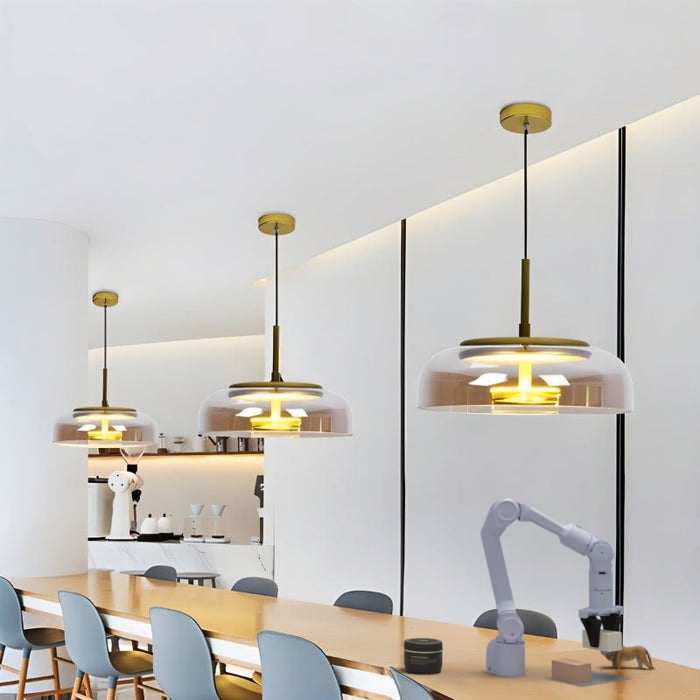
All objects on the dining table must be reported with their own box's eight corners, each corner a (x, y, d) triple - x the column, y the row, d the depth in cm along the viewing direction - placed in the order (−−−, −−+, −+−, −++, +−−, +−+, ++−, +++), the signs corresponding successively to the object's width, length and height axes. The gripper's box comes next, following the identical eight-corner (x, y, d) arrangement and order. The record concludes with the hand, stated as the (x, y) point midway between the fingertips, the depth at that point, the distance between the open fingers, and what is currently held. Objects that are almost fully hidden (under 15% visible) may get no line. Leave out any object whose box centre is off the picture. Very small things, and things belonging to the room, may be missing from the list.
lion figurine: (603, 674, 253) (602, 637, 254) (596, 670, 258) (596, 634, 259) (659, 674, 253) (659, 638, 255) (652, 670, 259) (651, 634, 260)
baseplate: (543, 682, 241) (543, 678, 241) (592, 674, 252) (592, 670, 252) (581, 691, 232) (581, 686, 232) (631, 682, 242) (631, 678, 242)
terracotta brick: (551, 678, 242) (551, 660, 242) (565, 675, 245) (565, 658, 245) (577, 683, 235) (577, 665, 236) (591, 681, 238) (591, 663, 239)
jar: (408, 666, 260) (408, 636, 261) (446, 669, 257) (446, 638, 258) (399, 673, 250) (399, 642, 251) (439, 676, 248) (439, 644, 249)
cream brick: (582, 647, 246) (582, 629, 247) (595, 645, 249) (595, 628, 250) (608, 652, 240) (608, 634, 240) (621, 650, 243) (621, 632, 243)
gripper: (594, 592, 239) (595, 651, 237) (632, 589, 247) (634, 645, 246) (571, 589, 245) (572, 647, 243) (610, 586, 253) (611, 642, 251)
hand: (601, 646), depth 245 cm, fingers closed on cream brick, 5 cm apart
